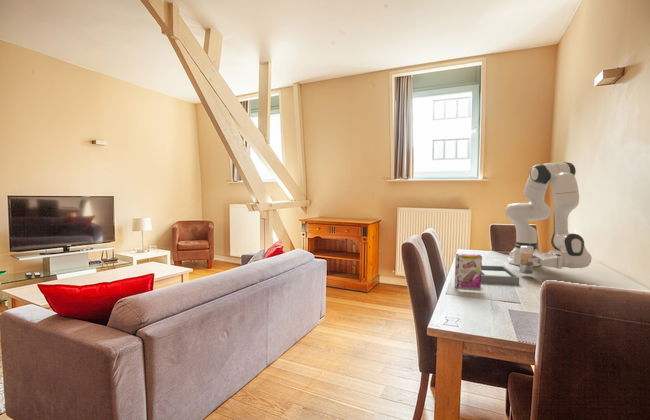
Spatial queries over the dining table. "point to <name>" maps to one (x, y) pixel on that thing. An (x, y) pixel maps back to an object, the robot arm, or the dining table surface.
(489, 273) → the white rectangular block
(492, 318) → the dining table surface
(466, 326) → the dining table surface
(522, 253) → the steel tin
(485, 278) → the tray
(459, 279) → the candy bar box
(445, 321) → the dining table surface
